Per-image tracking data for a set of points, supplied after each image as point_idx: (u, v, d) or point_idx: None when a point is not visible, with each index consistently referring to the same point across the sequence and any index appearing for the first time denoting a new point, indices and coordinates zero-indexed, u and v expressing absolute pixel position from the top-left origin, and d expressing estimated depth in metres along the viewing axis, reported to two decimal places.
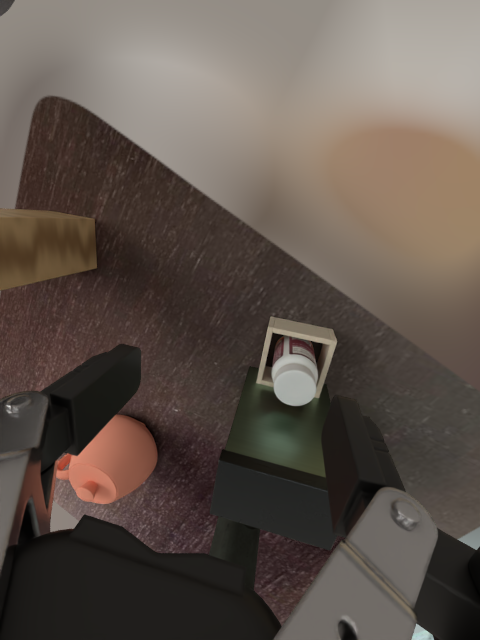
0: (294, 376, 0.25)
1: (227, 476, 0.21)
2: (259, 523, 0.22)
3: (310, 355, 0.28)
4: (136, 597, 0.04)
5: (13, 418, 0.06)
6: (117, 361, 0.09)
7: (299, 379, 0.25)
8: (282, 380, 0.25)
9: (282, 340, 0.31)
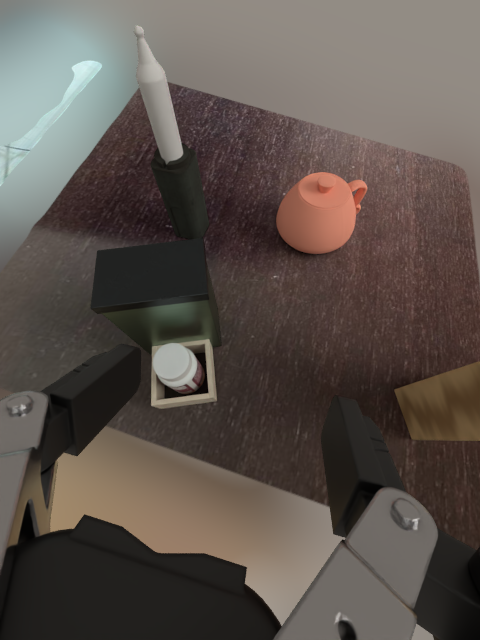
0: (174, 371, 0.28)
1: (197, 281, 0.24)
2: (159, 248, 0.26)
3: (169, 386, 0.31)
4: (136, 597, 0.04)
5: (13, 418, 0.06)
6: (117, 361, 0.09)
7: (169, 370, 0.28)
8: (183, 364, 0.28)
9: (199, 384, 0.34)
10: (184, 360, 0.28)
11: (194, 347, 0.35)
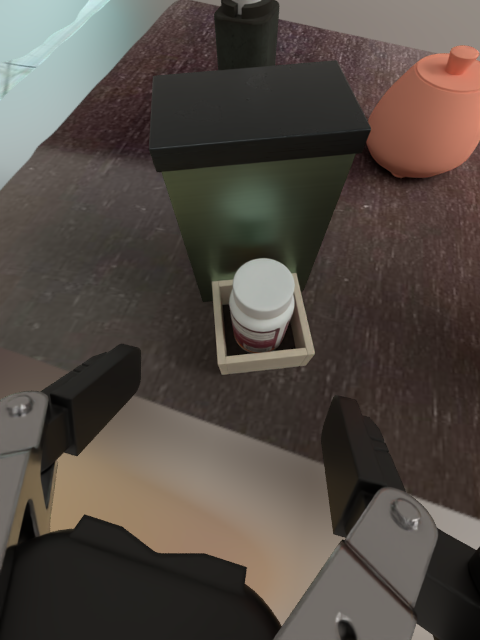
0: (271, 300, 0.16)
1: (345, 112, 0.13)
2: (262, 72, 0.15)
3: (248, 334, 0.19)
4: (136, 597, 0.04)
5: (13, 418, 0.06)
6: (117, 361, 0.09)
7: (263, 298, 0.17)
8: (285, 288, 0.17)
9: (282, 339, 0.23)
10: (286, 283, 0.17)
11: None
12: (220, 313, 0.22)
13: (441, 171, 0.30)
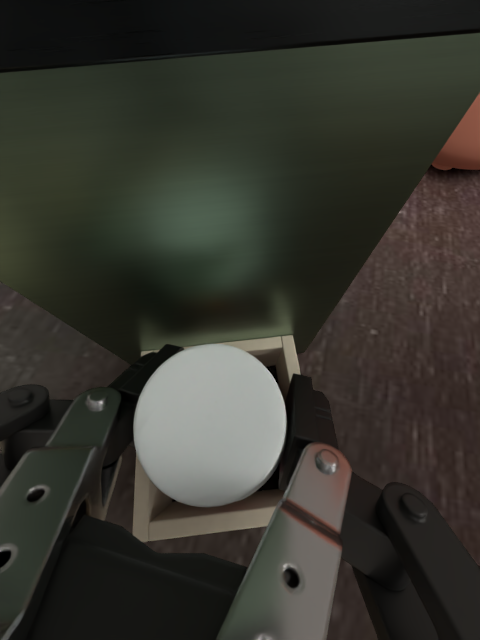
0: (225, 471, 0.06)
1: None
2: None
3: None
4: (136, 597, 0.04)
5: (96, 412, 0.07)
6: None
7: (204, 464, 0.06)
8: (262, 434, 0.07)
9: None
10: (266, 418, 0.07)
11: None
12: None
13: None
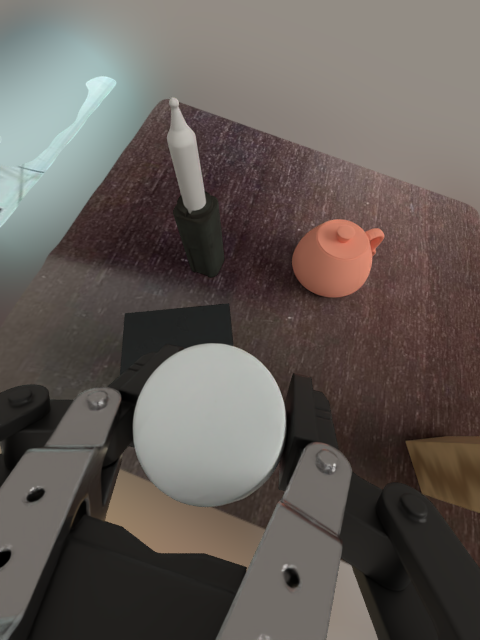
0: (225, 471, 0.06)
1: None
2: (185, 313, 0.26)
3: None
4: (136, 597, 0.04)
5: (96, 412, 0.07)
6: None
7: (203, 464, 0.06)
8: (261, 433, 0.07)
9: None
10: (265, 417, 0.07)
11: None
12: None
13: (341, 296, 0.41)
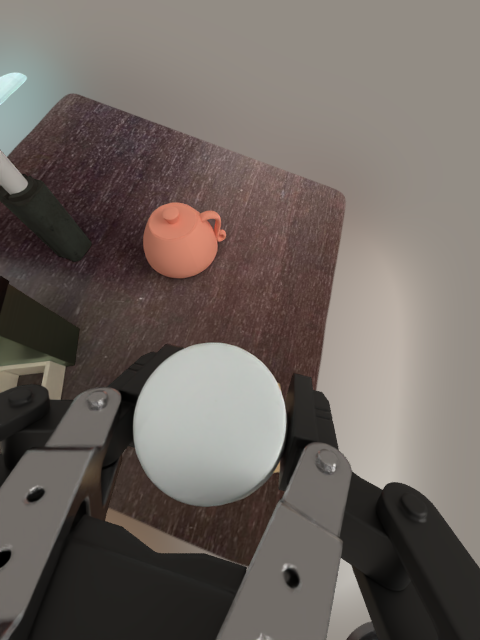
0: (225, 470, 0.06)
1: None
2: None
3: None
4: (136, 597, 0.04)
5: (96, 412, 0.07)
6: None
7: (203, 464, 0.06)
8: (262, 433, 0.07)
9: None
10: (266, 417, 0.07)
11: (39, 368, 0.37)
12: None
13: (186, 277, 0.43)
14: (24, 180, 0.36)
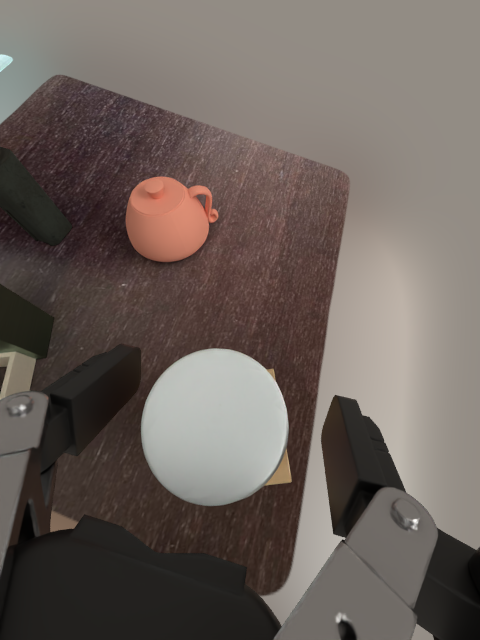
0: (229, 472, 0.07)
1: None
2: None
3: None
4: (136, 597, 0.04)
5: (13, 418, 0.06)
6: (117, 361, 0.09)
7: (208, 465, 0.07)
8: (264, 436, 0.07)
9: None
10: (268, 420, 0.07)
11: (3, 359, 0.33)
12: None
13: (173, 260, 0.39)
14: None
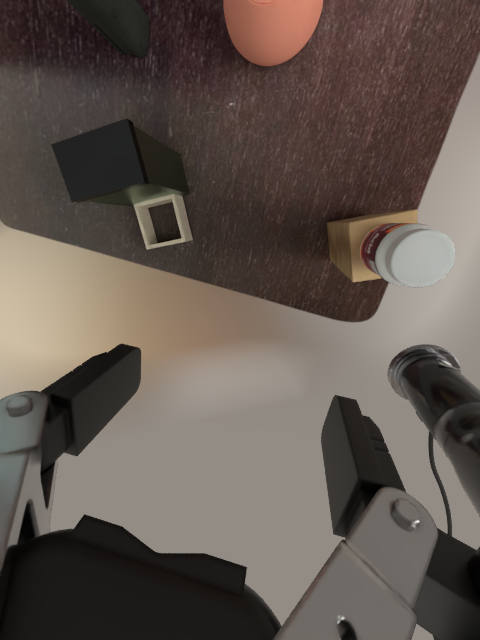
0: (427, 277, 0.19)
1: (134, 170, 0.31)
2: (95, 136, 0.30)
3: None
4: (136, 597, 0.04)
5: (13, 418, 0.06)
6: (117, 361, 0.09)
7: (419, 275, 0.19)
8: (443, 265, 0.18)
9: None
10: (446, 259, 0.18)
11: (165, 201, 0.43)
12: (141, 223, 0.44)
13: None
14: None
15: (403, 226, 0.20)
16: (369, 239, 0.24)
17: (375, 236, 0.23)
